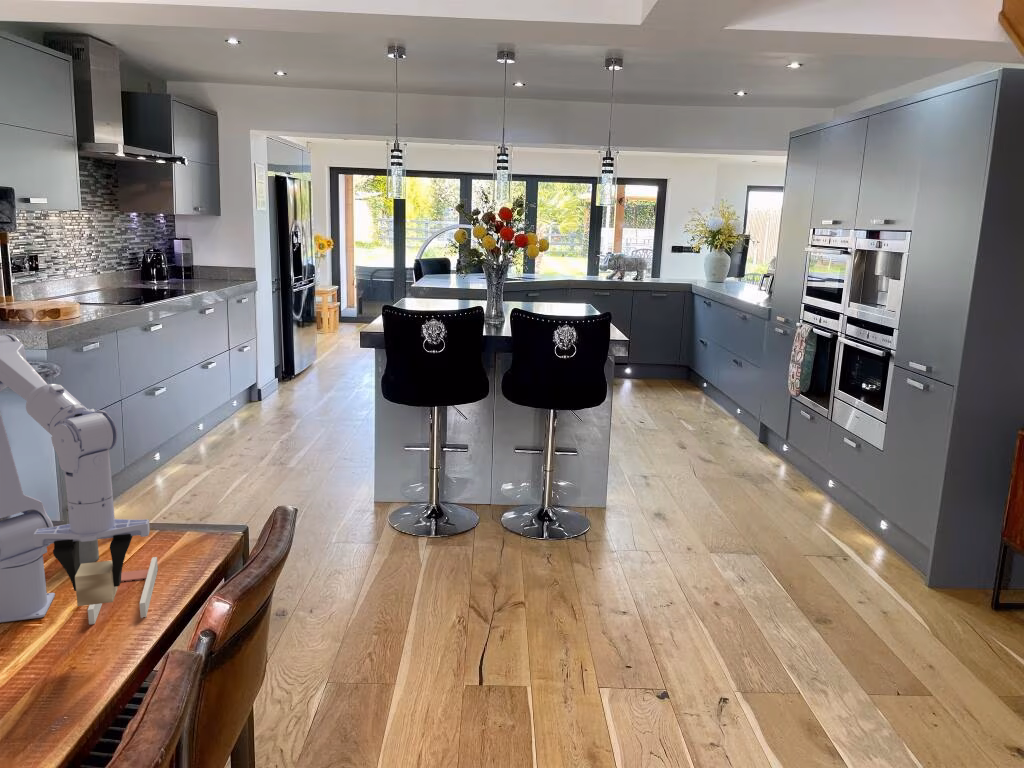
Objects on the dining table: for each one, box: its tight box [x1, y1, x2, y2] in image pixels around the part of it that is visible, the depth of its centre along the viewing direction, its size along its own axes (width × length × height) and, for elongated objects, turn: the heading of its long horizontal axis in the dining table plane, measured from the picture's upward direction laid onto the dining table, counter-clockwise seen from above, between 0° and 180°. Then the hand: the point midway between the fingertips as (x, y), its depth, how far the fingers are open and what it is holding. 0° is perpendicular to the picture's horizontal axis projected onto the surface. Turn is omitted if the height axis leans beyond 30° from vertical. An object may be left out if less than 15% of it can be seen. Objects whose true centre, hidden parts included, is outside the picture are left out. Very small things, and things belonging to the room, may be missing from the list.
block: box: [75, 559, 119, 607], centre depth 111 cm, size 4×4×4 cm
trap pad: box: [121, 568, 149, 583], centre depth 136 cm, size 6×4×1 cm, turn 109°
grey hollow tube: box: [65, 507, 100, 565], centre depth 141 cm, size 4×4×10 cm
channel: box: [87, 556, 159, 625], centre depth 129 cm, size 8×18×2 cm, turn 19°
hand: (98, 585), depth 112 cm, fingers closed on block, 4 cm apart
